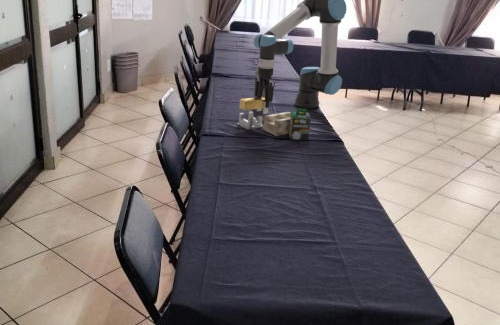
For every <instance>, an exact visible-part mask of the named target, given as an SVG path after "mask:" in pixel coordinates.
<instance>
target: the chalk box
mask: <svg viewBox="0 0 500 325" xmlns="http://www.w3.org/2000/svg"><path fill="white" fill-rule="evenodd" d="M307 109H308V108H297V109H296V111H290V113H291V116H290V128H289V133H288V135H289V140H297V141H298V140H299V141H309V139H310V132H311V131H310V130H311V122H312V118H311V115H310V112H307V111H308V110H307Z"/></svg>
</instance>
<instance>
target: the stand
mask: <svg viewBox="0 0 500 325" xmlns="http://www.w3.org/2000/svg"><path fill="white" fill-rule="evenodd" d="M238 115H239V117H238V122H237V123H236V125H237V124H238V125H240V126H241V128H242V127H243V128H242V129H244V128H245V129H244V130H246V129H247V130H246V131H250V130H249V129H251V130H255V129H260V128H264V124H263V116H262V115H257V117H255V116H254V112H253V111H248V117H247V119H246V118H245V113H244V112H240V113H239V114H238ZM238 125H237V126H238ZM240 126H239V127H240Z"/></svg>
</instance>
